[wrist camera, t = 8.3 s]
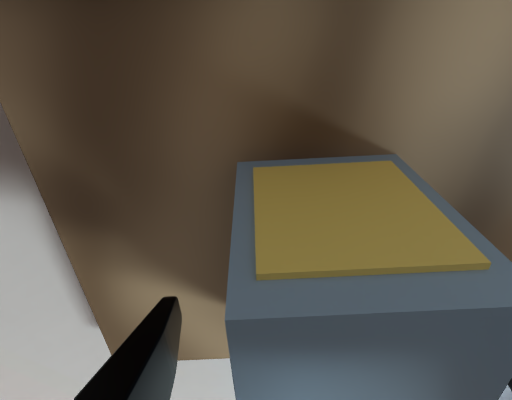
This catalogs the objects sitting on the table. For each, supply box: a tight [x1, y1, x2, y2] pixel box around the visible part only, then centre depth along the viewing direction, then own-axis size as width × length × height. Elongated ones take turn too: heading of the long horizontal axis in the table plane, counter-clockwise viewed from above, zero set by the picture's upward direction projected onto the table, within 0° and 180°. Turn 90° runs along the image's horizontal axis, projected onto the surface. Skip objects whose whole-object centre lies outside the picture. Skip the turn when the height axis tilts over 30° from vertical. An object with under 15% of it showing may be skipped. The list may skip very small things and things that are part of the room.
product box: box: [225, 154, 512, 400], centre depth 9 cm, size 7×5×6 cm
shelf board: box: [0, 0, 512, 360], centre depth 11 cm, size 18×16×2 cm
